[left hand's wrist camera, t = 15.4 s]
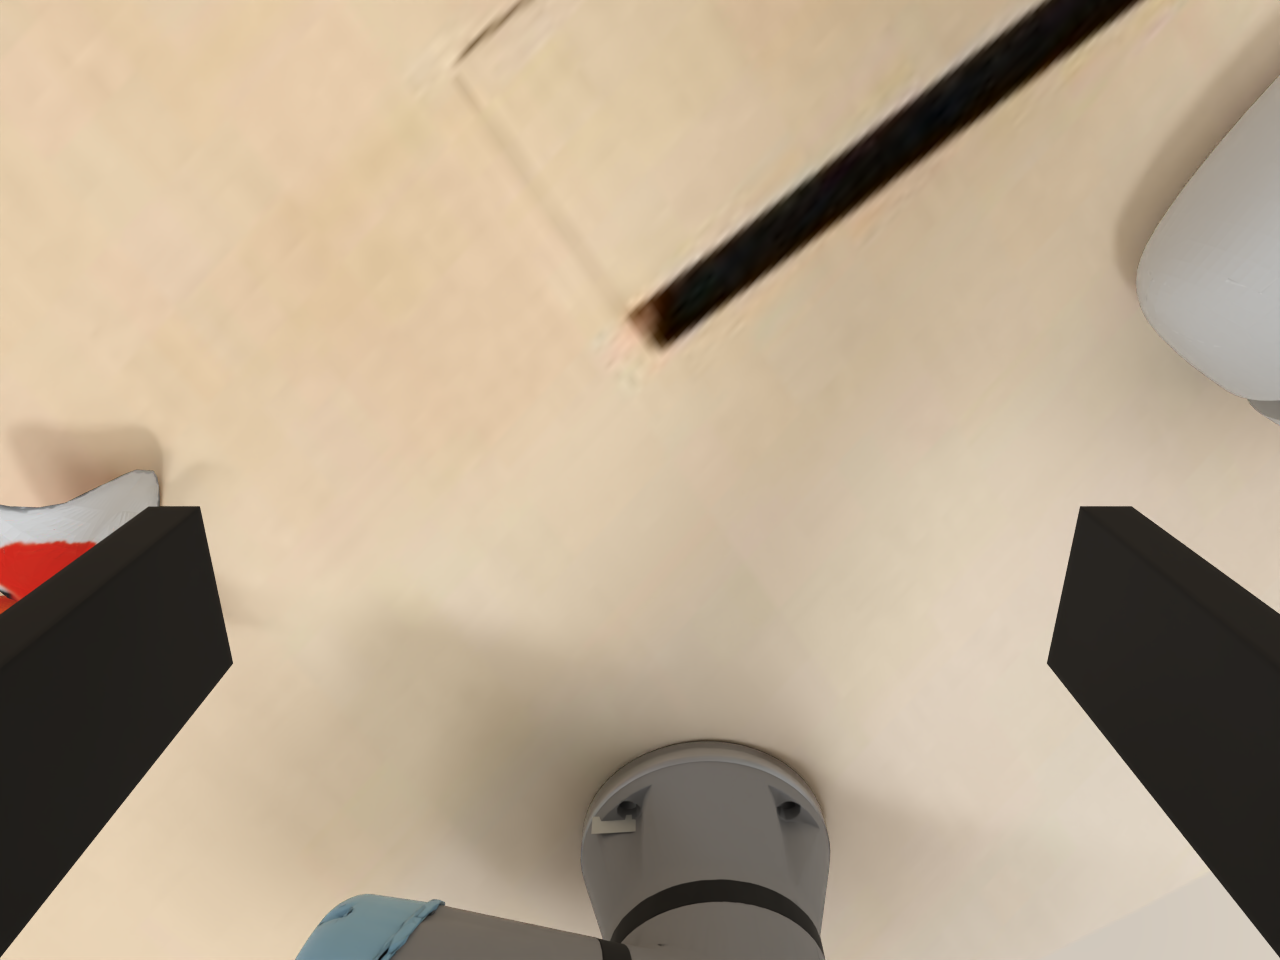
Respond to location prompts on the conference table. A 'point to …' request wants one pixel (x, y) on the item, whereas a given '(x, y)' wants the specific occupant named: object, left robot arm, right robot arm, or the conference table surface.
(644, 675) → the conference table surface
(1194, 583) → the left robot arm
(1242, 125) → the projector
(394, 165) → the conference table surface
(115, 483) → the fish
